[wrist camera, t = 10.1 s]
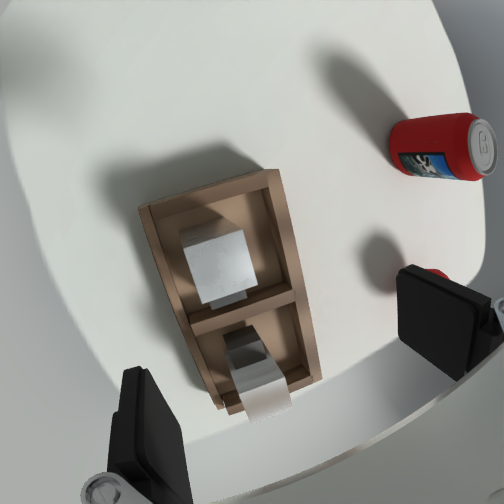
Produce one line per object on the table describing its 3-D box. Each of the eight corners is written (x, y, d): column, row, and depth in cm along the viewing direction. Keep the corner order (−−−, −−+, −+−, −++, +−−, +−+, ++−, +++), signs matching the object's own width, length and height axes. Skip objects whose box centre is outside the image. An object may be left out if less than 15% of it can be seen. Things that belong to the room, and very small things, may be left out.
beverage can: (386, 176, 33) (468, 183, 21) (381, 118, 31) (462, 106, 20) (425, 175, 34) (502, 182, 23) (421, 122, 32) (497, 116, 21)
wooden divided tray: (139, 206, 27) (127, 219, 18) (264, 169, 29) (304, 167, 20) (211, 394, 33) (227, 449, 25) (307, 358, 35) (344, 403, 27)
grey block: (179, 230, 26) (183, 248, 20) (223, 216, 27) (242, 229, 20) (201, 295, 28) (212, 330, 21) (242, 281, 29) (265, 312, 22)
